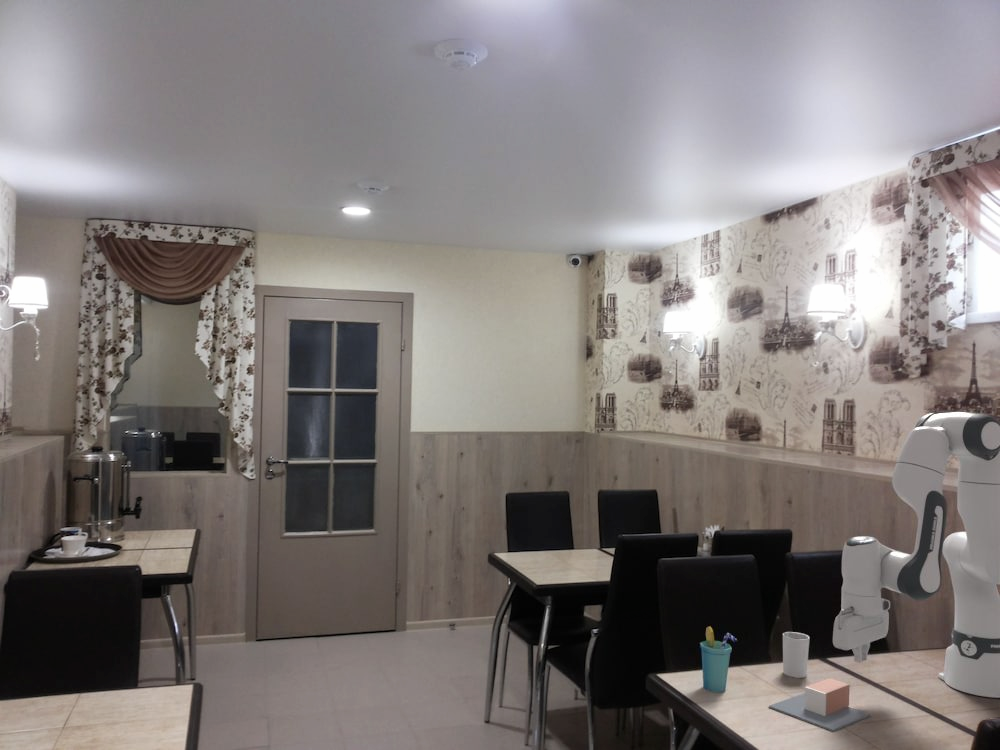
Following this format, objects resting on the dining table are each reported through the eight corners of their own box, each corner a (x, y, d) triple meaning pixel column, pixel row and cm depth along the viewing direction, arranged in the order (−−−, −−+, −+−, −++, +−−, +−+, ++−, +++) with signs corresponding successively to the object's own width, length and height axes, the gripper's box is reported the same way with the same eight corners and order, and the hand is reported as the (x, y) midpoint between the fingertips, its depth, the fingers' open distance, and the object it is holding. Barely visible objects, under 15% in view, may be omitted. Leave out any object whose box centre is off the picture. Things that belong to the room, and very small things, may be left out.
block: (829, 678, 196) (804, 687, 189) (849, 684, 192) (825, 693, 185) (829, 699, 196) (804, 708, 189) (848, 705, 192) (824, 716, 185)
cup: (747, 698, 195) (749, 635, 196) (720, 701, 193) (722, 637, 193) (713, 678, 208) (715, 619, 209) (686, 681, 206) (689, 621, 206)
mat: (806, 694, 200) (806, 692, 200) (870, 715, 188) (870, 714, 188) (768, 707, 190) (768, 705, 190) (833, 731, 178) (833, 729, 178)
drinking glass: (803, 680, 210) (805, 641, 210) (777, 673, 214) (779, 635, 214) (811, 673, 215) (812, 635, 216) (786, 667, 219) (787, 630, 220)
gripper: (851, 613, 190) (850, 673, 190) (893, 600, 203) (893, 656, 203) (826, 607, 195) (825, 666, 195) (869, 595, 208) (868, 650, 207)
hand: (860, 661), depth 199 cm, fingers closed
